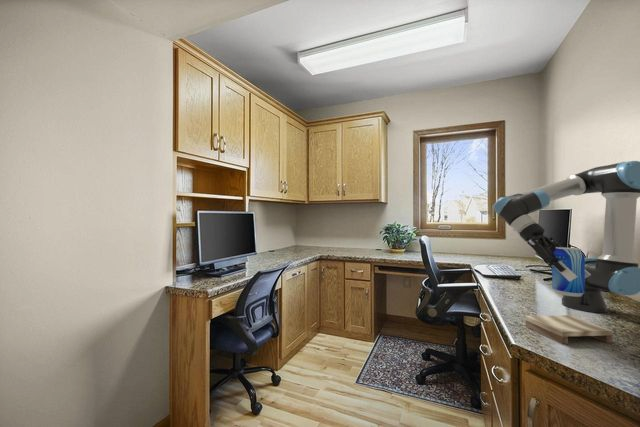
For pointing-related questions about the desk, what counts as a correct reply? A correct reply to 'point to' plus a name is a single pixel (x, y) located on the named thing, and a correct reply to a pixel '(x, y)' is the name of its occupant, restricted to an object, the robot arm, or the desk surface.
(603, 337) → the shelf stand
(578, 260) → the beer can
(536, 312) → the desk surface
